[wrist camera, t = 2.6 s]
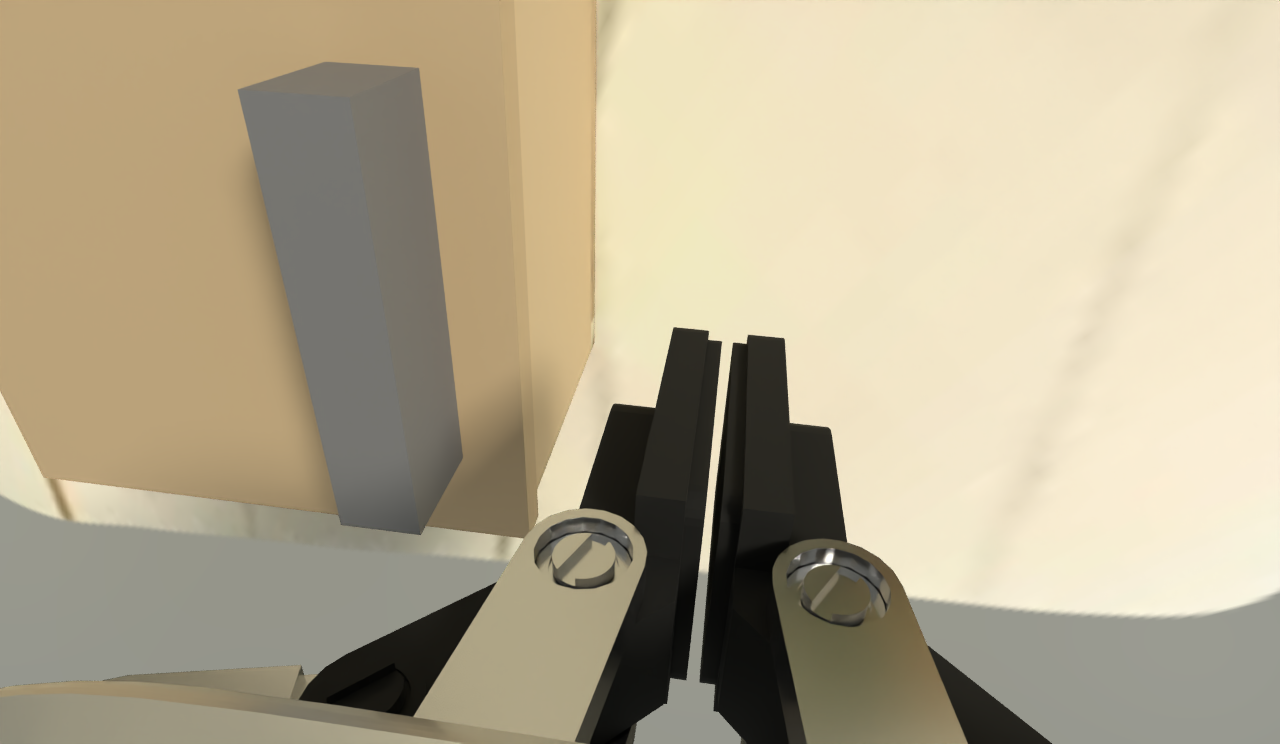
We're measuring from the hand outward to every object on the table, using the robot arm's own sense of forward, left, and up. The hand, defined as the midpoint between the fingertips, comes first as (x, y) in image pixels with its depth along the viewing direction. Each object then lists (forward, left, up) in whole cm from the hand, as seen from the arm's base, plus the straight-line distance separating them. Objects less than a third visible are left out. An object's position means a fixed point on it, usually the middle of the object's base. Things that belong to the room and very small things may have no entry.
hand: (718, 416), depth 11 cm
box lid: (0, -10, -3) cm, 11 cm away
